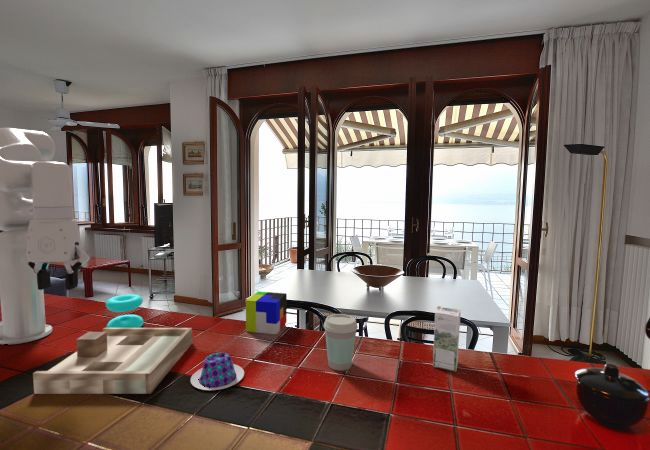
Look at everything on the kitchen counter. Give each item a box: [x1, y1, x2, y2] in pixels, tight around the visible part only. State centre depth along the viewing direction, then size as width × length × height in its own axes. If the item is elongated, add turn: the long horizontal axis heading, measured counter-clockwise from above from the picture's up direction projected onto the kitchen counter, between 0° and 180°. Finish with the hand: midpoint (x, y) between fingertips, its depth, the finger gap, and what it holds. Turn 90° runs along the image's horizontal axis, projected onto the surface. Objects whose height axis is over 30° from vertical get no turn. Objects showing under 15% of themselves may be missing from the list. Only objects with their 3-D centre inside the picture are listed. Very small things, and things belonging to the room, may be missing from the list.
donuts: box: [105, 293, 144, 328], centre depth 109 cm, size 10×10×10 cm
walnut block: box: [76, 331, 107, 357], centre depth 86 cm, size 4×4×4 cm
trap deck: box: [32, 327, 193, 395], centre depth 86 cm, size 24×25×4 cm
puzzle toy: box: [245, 291, 288, 335], centre depth 112 cm, size 10×10×10 cm
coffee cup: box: [323, 313, 359, 371], centre depth 87 cm, size 8×8×12 cm
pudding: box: [190, 352, 245, 391], centre depth 81 cm, size 12×12×5 cm
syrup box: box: [432, 305, 461, 372], centre depth 88 cm, size 6×6×14 cm
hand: (58, 287), depth 84 cm, fingers open, 5 cm apart
